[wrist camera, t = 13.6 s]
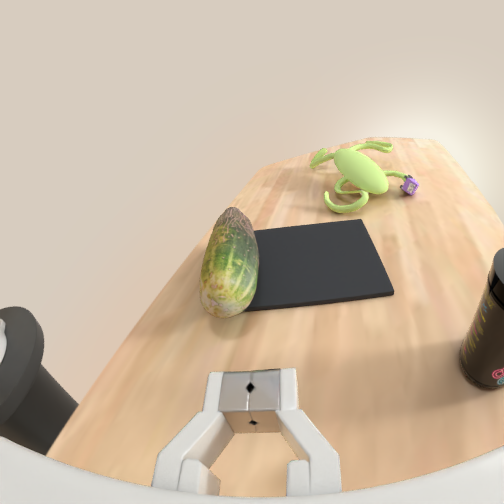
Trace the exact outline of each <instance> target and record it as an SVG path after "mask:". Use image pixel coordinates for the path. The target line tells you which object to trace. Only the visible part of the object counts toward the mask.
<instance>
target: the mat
mask: <svg viewBox="0 0 504 504" xmlns="http://www.w3.org/2000/svg"><path fill="white" fill-rule="evenodd" d="M254 234H255V239H256V243H257V246H258V253H259V268H258V278H257V287H256V291H255V294H254V296H253V299H252V301H251V302H250V304H249V305H248V307H247V308H246V309H245V310H243V311H255V310H267V309H278V308H289V307H299V306H308V305H318V304H327V303H335V302H344V301H352V300H360V299H367V298H375V297H382V296H389V295H394V289H393V287H392V284H391V282H390V280H389V277H388V275H387V273H386V271H385V268H384V266H383V264H382V262H381V259H380V257H379V255H378V253H377V251H376V249H375V246H374V244H373V242H372V240H371V238H370V236H369V234H368V232H367V230H366V228H365V226H364V224H363V222H362V220H361V219H357V220H347V221H338V222H328V223H319V224H309V225H300V226H291V227H282V228H274V229H265V230H256V231H254Z"/></svg>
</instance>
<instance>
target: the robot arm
mask: <svg viewBox="0 0 504 504" xmlns="http://www.w3.org/2000/svg"><path fill="white" fill-rule="evenodd" d="M4 331H5V322H4V321H3V320H2V319H0V364H1V362H2V359H3V357H4V354H5V351H6V346H7V340H6V336H5V333H4ZM268 432H281V434H282V436H283V437H284V439H285V440H286V441H287V443H288V444H289V446H290V447H291V449H292V450H293V452H294V453H295V455H296V456H297V457H298V459H299V460H292V461H290V462H289V463H288V464H287V489H286V497H236V496H219V491H220V479H219V478H218V477H217V476H216V475H214V474H213V473H212V472H211V471H210V470H209V468H210V467H211V466H212V464H213V463H214V462H215V460H216V459H217V458H218V456H219V455H220V454H221V452H222V451H223V450H224V448H225V447H226V446H227V444H228V443H229V442H230V440H231V439H232V437H233V436H234V433H268ZM0 504H504V445H503V446H501V447H499V448H497V449H495V450H492V451H490V452H488V453H485V454H483V455H480V456H478V457H475V458H473V459H470V460H468V461H465V462H462V463H460V464H457V465H454V466H451V467H448V468H445V469H442V470H439V471H436V472H432V473H429V474H426V475H422V476H419V477H415V478H411V479H407V480H403V481H399V482H395V483H390V484H385V485H381V486H375V487H370V488H364V489H358V490H352V491H345V492H342V487H341V473H340V459H339V455H338V453H337V452H336V451H335V450H334V449H333V447H332V446H331V445H330V444H329V443H328V441H327V440H326V439H325V438H324V437H323V435H322V434H321V433H320V432H319V430H318V429H317V428H316V427H315V426H314V424H313V423H312V422H311V421H310V419H309V418H308V417H307V416H306V414H305V413H304V412H303V411H302V409H299V397H298V385H297V376H296V368H285V369H268V370H255V371H238V372H210V374H209V376H208V381H207V387H206V392H205V398H204V404H203V410H202V412H198V413H197V414H196V415H195V416H194V417H193V418H192V419H191V420H190V421H189V422H188V423H187V424H186V425H185V426H184V428H183V429H182V430H181V431H180V432H179V433H178V434H177V435H176V436H175V437H174V438H173V439H172V440H171V441H170V442H169V443H168V444H167V445H166V446H165V447H164V448H163V449H162V450H161V451H160V452H159V454H158V456H157V461H156V465H155V470H154V475H153V480H152V484H151V487H150V486H145V485H140V484H135V483H131V482H127V481H122V480H118V479H114V478H110V477H107V476H103V475H99V474H96V473H93V472H89V471H86V470H83V469H80V468H77V467H74V466H71V465H68V464H65V463H62V462H59V461H57V460H54V459H52V458H49V457H46V456H44V455H41V454H39V453H37V452H34V451H32V450H30V449H27V448H25V447H23V446H21V445H18V444H16V443H14V442H12V441H10V440H8V439H6V438H4V437H1V436H0Z"/></svg>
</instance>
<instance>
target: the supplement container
mask: <svg viewBox="0 0 504 504" xmlns="http://www.w3.org/2000/svg"><path fill="white" fill-rule="evenodd" d="M460 361H461V366H462V368H463V370H464V372H465V374H466V375H467V377H468V378H469V379H470V380H471V381H473V382H474V383H475V384H477V385H479V386H481V387H485V388H498V387H501V386H504V248H502V249H500V250H499V251H498V252H497V253H496V254H495V256H494V259H493V262H492V266H491V269H490V271H489V274H488V279H487V283H486V286H485V288H484V291H483V294H482V297H481V300H480V302H479V305H478V308H477V310H476V313H475V315H474V318H473V320H472V323H471V325H470V327H469V330H468V332H467V334H466V337H465V339H464V341H463V343H462V346H461V349H460Z"/></svg>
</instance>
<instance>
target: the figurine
mask: <svg viewBox="0 0 504 504" xmlns="http://www.w3.org/2000/svg"><path fill="white" fill-rule="evenodd" d="M360 149H375V150H378V151H381V152H383V153H389V152H391V151H392V149H393V145H392V144H390V143H387V142H379V141H366V144H358V145H355V146H352V147H350V148H349V149H339V150H337V151H336V152H335V153H330V154H328V155H325V156H323V155H324V154H325V153H326V152H327V149H326V148H322V149H321V150H320V151H319V152H318V153H317V154H316V155H315V157H314V158H313V160H312V161H311V164H310V168H312V169H313V168H315V167H316V166H318V165H319V164H321V163H323V162H326V161H328V160H331V159H333V158H334V162H335V165H336V166H337V168H338V170H339V171H340V172H341V173H342V174H343V175H344V177H342V178H341V179H340V180H338V181H337V183H336V184H335V189H334V190H335V191H336V193H339V194H351V193H360V194H361V195H362V197H361V198H360V199H359V200H358V201H356V202H354V203H353V204H350V205H344V206H338V205H336V204H334V203H332V202H331V201H330V199H329V193H328V192H325V193H324V201H325V204H326V205H327V206H328V207H329V208H330V209H331V210H333V211H335V212H337V213H348V212H353V211H356V210H358V209H359V208H361V207H362V206H363V205H365V204H366V203H367V201H368V199H369V196H368V193H373V194H382V193H385V192H386V191H387V190H388V184H389V183H388V180H387V178H386V176H395V177H399V178H402V179H403V180H404V182H405V183H404V185H403V186H402V185H401V186H400V188H401V189H402V190H404V191H406V192H407V193H408V194H410V195H411V196H412V195H413V194H414V193H415V191H416V189H417V188H418V186H419V184H418V183H417V182H416V181H415V179H413V178H412V177H411V176H410V175H408V176H407V175H406V174H403V173H400V172H398V171H382V170H381V169H380V167H379V166H378V165H377V164H376V163H375V162H374V161H372V160H371V159H370V158H369V157H367V156H366V155H364V154H362V153H360V152H358V151H357V150H360ZM322 156H323V157H322ZM348 181H350V182H351V183H352V184H354V185H355V186H356V187H358V188H360V190H356V191H341V187H342V185H343V184H345V183H346V182H348Z"/></svg>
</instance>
